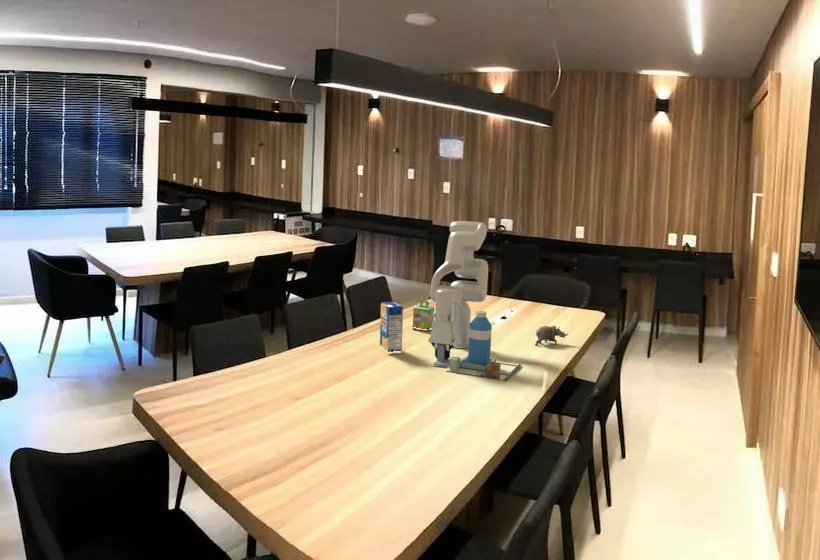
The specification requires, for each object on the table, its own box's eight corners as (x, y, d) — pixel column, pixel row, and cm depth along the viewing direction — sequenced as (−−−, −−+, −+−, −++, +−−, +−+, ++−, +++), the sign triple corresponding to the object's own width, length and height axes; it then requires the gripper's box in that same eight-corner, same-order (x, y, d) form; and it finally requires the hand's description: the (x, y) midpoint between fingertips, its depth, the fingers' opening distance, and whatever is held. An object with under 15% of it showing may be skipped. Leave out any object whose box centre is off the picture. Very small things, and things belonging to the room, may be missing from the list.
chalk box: (412, 329, 355) (413, 302, 353) (417, 326, 364) (418, 299, 362) (428, 331, 353) (429, 303, 350) (434, 327, 361) (435, 300, 359)
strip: (448, 373, 282) (448, 359, 281) (453, 369, 288) (453, 355, 287) (472, 377, 278) (472, 362, 277) (476, 373, 283) (477, 359, 282)
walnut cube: (486, 376, 276) (487, 364, 275) (487, 373, 280) (488, 361, 280) (498, 378, 274) (499, 366, 274) (500, 374, 279) (500, 362, 278)
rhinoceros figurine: (524, 337, 336) (543, 313, 335) (543, 351, 341) (561, 328, 340) (531, 343, 329) (550, 318, 328) (550, 357, 334) (569, 333, 333)
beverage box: (387, 354, 308) (388, 307, 305) (379, 348, 318) (380, 302, 315) (401, 353, 311) (403, 306, 307) (393, 347, 321) (394, 301, 317)
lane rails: (445, 374, 281) (446, 369, 281) (463, 360, 302) (464, 355, 302) (506, 384, 271) (506, 378, 271) (520, 369, 292) (521, 363, 291)
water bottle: (478, 373, 284) (481, 315, 280) (463, 367, 291) (465, 311, 287) (494, 369, 290) (497, 312, 286) (478, 364, 297) (481, 308, 293)
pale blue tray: (433, 365, 293) (433, 347, 291) (443, 358, 304) (444, 340, 303) (486, 373, 283) (487, 354, 282) (495, 365, 295) (496, 347, 293)
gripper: (422, 316, 294) (421, 357, 297) (459, 321, 288) (457, 363, 291) (429, 313, 301) (427, 353, 304) (464, 318, 295) (463, 358, 298)
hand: (442, 357), depth 297 cm, fingers open, 3 cm apart
